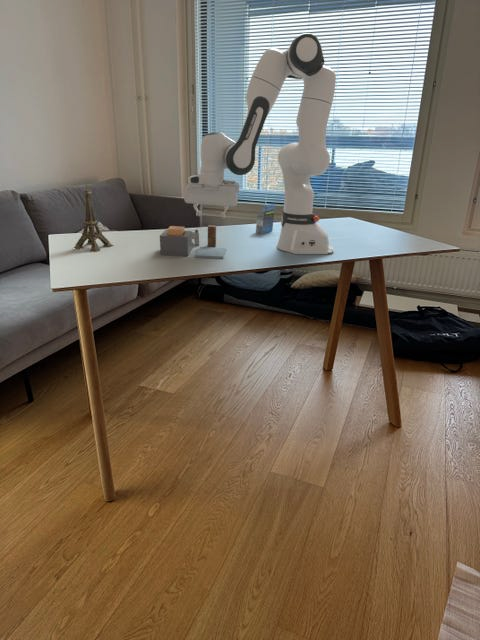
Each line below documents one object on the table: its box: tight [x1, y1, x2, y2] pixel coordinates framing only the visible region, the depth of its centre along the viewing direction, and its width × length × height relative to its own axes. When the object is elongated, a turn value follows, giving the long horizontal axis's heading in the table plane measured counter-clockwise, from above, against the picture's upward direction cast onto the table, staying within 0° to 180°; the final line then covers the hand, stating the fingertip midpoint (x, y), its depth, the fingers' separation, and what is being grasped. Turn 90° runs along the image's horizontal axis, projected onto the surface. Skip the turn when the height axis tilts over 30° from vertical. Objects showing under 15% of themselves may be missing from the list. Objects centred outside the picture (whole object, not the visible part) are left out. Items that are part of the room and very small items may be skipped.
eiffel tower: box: [73, 179, 114, 253], centre depth 156 cm, size 11×11×25 cm
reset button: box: [167, 225, 185, 236], centre depth 156 cm, size 5×5×3 cm
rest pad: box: [195, 246, 227, 259], centre depth 158 cm, size 10×12×1 cm
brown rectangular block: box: [207, 224, 217, 248], centre depth 167 cm, size 3×3×8 cm
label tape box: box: [255, 203, 275, 234], centre depth 194 cm, size 9×4×12 cm, turn 144°
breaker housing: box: [159, 229, 193, 257], centre depth 158 cm, size 10×10×7 cm
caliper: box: [192, 229, 200, 246], centre depth 176 cm, size 20×1×6 cm, turn 23°
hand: (210, 216), depth 164 cm, fingers open, 8 cm apart
